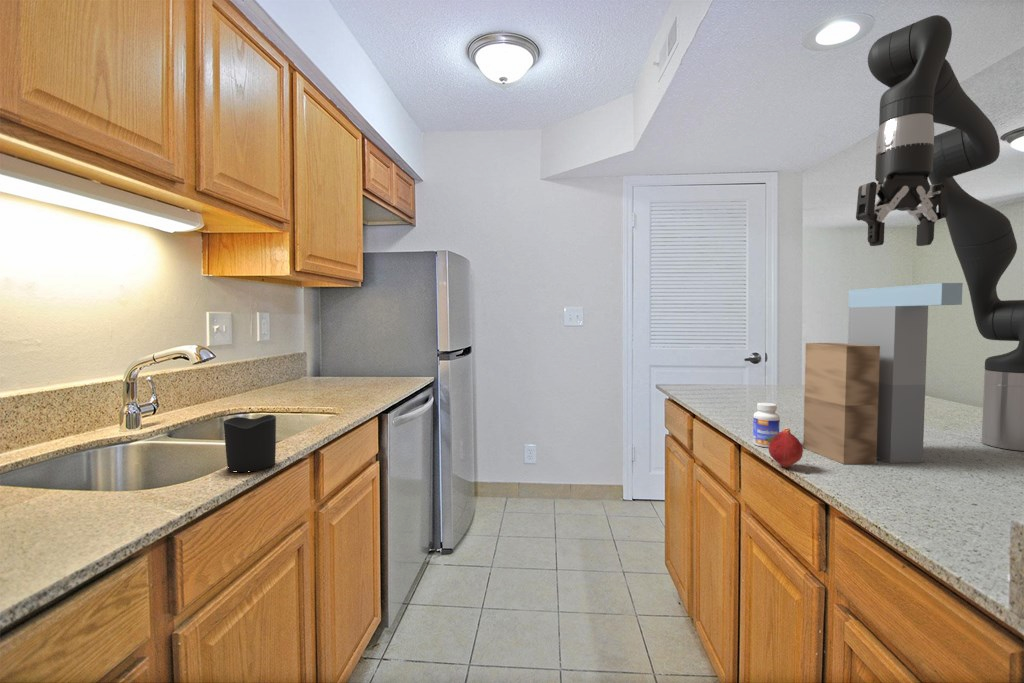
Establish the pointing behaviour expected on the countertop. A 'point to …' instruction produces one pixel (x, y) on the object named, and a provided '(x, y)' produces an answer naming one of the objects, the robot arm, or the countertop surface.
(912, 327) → the block
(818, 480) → the countertop surface
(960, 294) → the beam
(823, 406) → the block
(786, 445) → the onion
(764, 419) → the pill bottle
